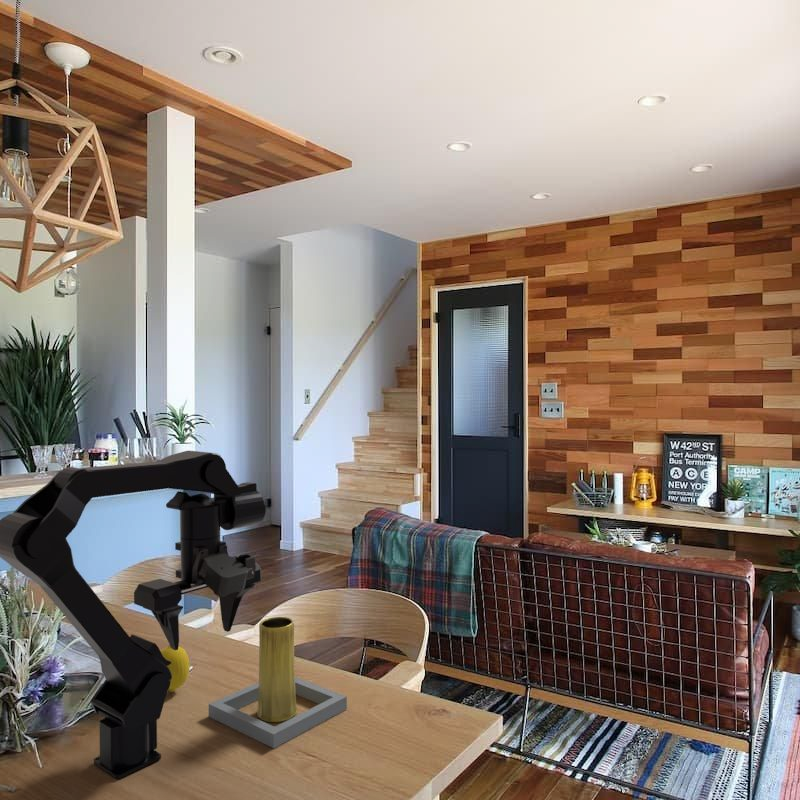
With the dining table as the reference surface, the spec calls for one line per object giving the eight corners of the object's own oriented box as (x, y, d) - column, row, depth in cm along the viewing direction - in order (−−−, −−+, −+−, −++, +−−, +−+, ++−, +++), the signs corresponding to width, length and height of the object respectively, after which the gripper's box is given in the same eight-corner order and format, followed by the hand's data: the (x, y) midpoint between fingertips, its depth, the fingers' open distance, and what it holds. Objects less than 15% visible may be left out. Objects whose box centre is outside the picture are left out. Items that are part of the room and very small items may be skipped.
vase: (301, 705, 109) (300, 616, 108) (291, 724, 103) (290, 630, 102) (264, 703, 109) (263, 614, 109) (251, 722, 103) (250, 628, 103)
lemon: (179, 700, 110) (178, 651, 110) (148, 697, 111) (147, 649, 111) (195, 686, 116) (195, 639, 116) (166, 683, 117) (165, 637, 117)
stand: (273, 748, 96) (273, 734, 96) (208, 716, 105) (208, 703, 105) (346, 709, 107) (346, 696, 107) (282, 683, 117) (282, 671, 117)
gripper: (177, 556, 89) (179, 675, 89) (284, 531, 104) (285, 633, 104) (131, 544, 96) (132, 654, 96) (237, 523, 111) (238, 618, 111)
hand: (201, 640), depth 102 cm, fingers open, 9 cm apart
